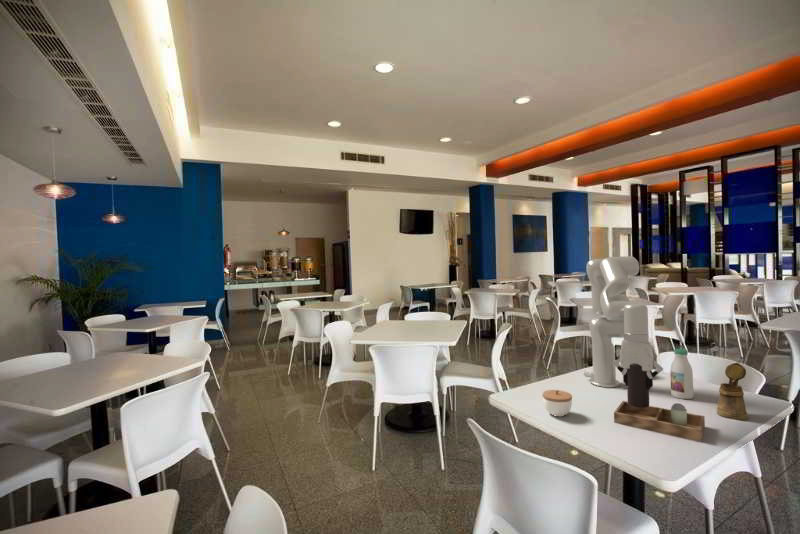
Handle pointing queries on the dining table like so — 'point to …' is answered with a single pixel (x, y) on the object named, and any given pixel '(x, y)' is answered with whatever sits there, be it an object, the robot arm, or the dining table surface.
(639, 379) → the vinegar
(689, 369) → the milk bottle
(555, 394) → the lidded jar
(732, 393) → the burlap money sack
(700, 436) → the caddy
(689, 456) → the dining table surface
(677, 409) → the shaker
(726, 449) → the dining table surface
